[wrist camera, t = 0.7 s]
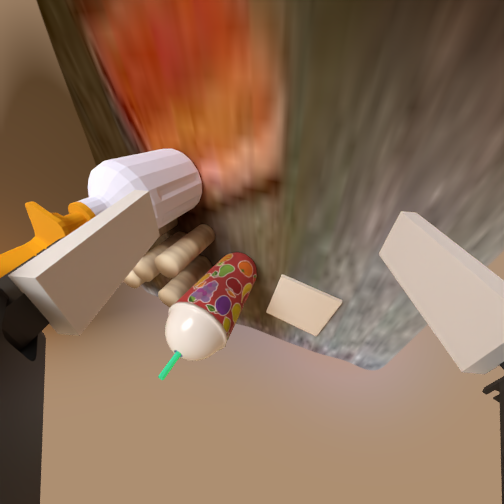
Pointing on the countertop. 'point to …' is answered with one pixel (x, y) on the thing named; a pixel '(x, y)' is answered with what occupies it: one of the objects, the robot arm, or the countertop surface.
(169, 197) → the soap bottle
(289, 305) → the plate
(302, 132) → the countertop surface
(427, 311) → the robot arm
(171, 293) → the spacer posts
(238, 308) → the smoothie
